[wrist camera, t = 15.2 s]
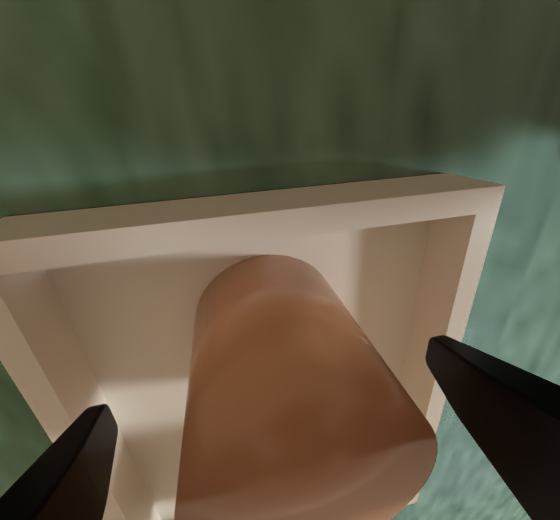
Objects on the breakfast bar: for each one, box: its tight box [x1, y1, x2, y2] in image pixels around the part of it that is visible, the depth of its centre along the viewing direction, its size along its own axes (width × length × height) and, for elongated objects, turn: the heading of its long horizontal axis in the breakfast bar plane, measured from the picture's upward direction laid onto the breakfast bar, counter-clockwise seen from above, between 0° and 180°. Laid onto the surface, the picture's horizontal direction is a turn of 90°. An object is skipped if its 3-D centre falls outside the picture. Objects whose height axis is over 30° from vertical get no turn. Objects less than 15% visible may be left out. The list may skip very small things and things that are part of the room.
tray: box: [0, 173, 506, 520], centre depth 12 cm, size 15×18×2 cm
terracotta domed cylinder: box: [174, 255, 437, 520], centre depth 8 cm, size 5×5×6 cm
